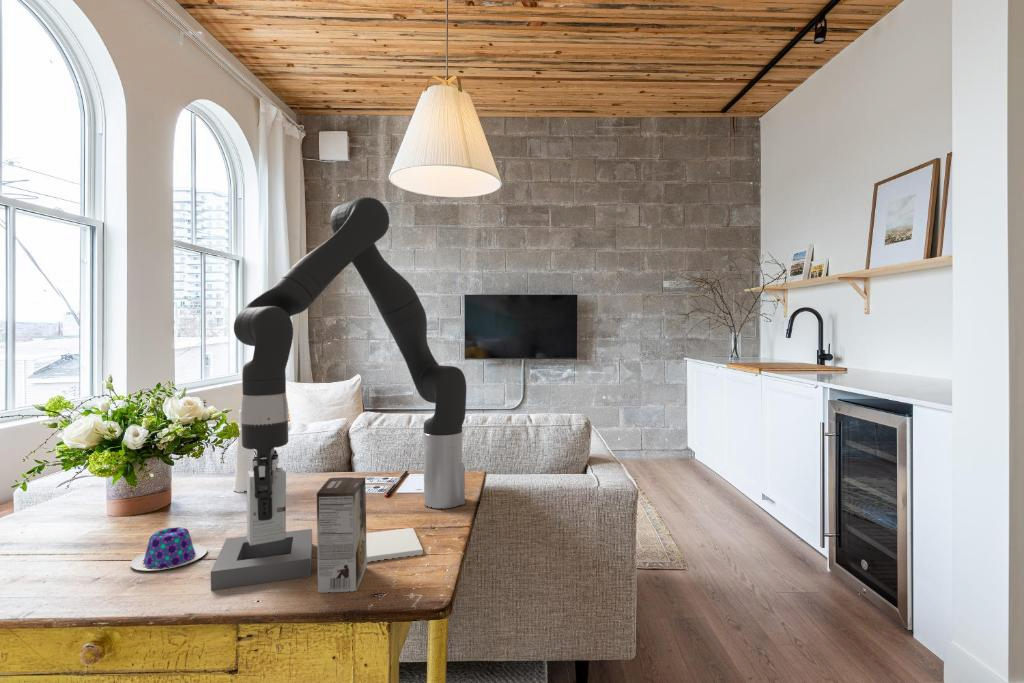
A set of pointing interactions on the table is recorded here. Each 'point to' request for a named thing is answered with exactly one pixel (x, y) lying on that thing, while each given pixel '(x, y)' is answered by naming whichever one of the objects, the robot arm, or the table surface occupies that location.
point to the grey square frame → (262, 560)
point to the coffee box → (341, 534)
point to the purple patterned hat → (169, 550)
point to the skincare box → (277, 524)
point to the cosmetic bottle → (242, 462)
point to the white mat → (392, 544)
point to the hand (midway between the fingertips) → (266, 514)
